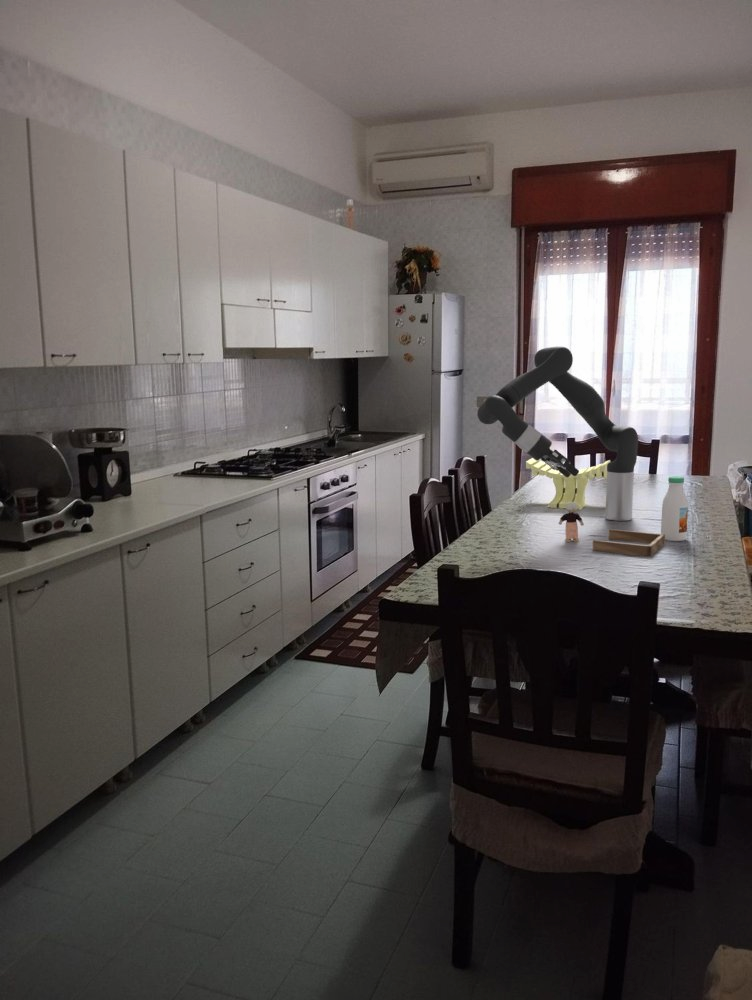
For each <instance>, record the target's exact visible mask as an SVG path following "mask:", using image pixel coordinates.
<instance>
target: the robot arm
mask: <svg viewBox="0 0 752 1000" xmlns="http://www.w3.org/2000/svg"><path fill="white" fill-rule="evenodd" d="M533 362H534V366H535V368H533V369H531V370H529V371H526V372H524V373H523V374H520V375H518V376H516V377H515V378H514V379H511V381H510V382H508V383H506V384H505V385H504V386H503V387H502V388H501V389H500V390H499V391H498V392H497V393H496V394H493V395H490V396H488V397H487V398H486V399H485V400H484V401H483V402H482V403H481V404H480V406H479V407H478V409H477V418H478V421H480V422H481V423H482V424H483V425H492V424H495V423H496V422H497V421H499V423H501V425H502V428H501V432H502V433H503V434H504V436H505V437H507V438H508V439H510V440H511V441H512V442H513V443H514V444H515V445H517V447H518V448H519V449H520V450H522V451H523V452H525V453H526V454H527V455H528V456H530V457H531V459H532V458H533V459H535V460H536V461H538V460H539V461H540V460H541V461H542V462H545V463H546V465H549V466H550V467H551V468H552V469H553V470H556V471H558V470H559V472H560V473H562V474H563V475H564V476H565V477H569V476H570V475H571V474H572V475H573V476H576V475H577V474H578V473H579V469H578V468H576V467H575V466H574V465H572V463H571V460H570V459H569V458H568V457H566V456H565V455H564V454H562V453H561V452H559V451H558V450H557V449H553V450H552V449H551V446H552V445H553V444H552V443H553V442H552V441H551V440H550V439H549V438H547V437H546V436H545V435H544V434H543V433H541V432H540V431H539V430H537V429H536V428H534V427H533V426H532V425H530V424H529V423H527V422H526V421H524V420H523V419H522V418H520V416H519V415H518V414H517V412H516V411H515V410H514V409H513V408H515V406H517V405H518V404H520V402H522V401H523V400H524V399H526V398H527V397H529V396H530V395H531V394H532V393H533V392H535V391H536V390H538V389H539V388H541V387H542V386H544V385H546V384H547V383H550V384H551V385H552V386H553V387H555V389H556V390H557V391H558V392H559V393H560V394H561V395H562V396H563V397H564V398H565V400H567V402H568V403H569V404H570V406H571V407H572V408H573V409H574V410H575V411H576V412H577V414H579V415H580V417H581V418H582V419H583V420H584V421H585V422H586V423H587V425H588V426H589V428H591V429H592V430H593V431H594V433H595V434H596V436H597V438H598V439H599V441H600V442H601V444H602V445H603V446H604V447H605V449H607V450H608V451H611V452H615V453H616V457H615V459H614V460H613V461H612V460H611V461H610V462H609V463H608V464H607V479H606V483H605V484H606V485H605V486H606V487H605V488H606V490H605V492H606V493H605V515H604V516H605V519H606V520H610V521H620V522H623V521H630V520H632V519H633V508H634V507H633V505H634V500H633V499H634V479H635V478H634V476H635V475H634V473H635V466H636V463H637V460H638V459H637V457H638V448H639V447H638V445H639V437H638V436H639V435H638V432H637V431H636V429H635V427H632V426H626V425H625V426H623V425H617V424H615V423H614V422H612V421H611V420H610V418H609V417H608V416H607V414H606V406H605V402H604V400H603V398H602V396H601V395H600V394H599V393H598V392H597V391H596V389H595V388H594V387H593V386H592V385H590V384H589V383H588V382H586V381H584V380H582V379H580V378H578V377H577V376H574V375H573V374H571V372H569V370H570V369H571V368H572V365H573V362H574V356H573V354H572V351H571V350H570V348H568V347H566V346H562V345H560V346H559V345H557V346H551V347H550V346H549V347H545V348H541V349H539V350H538V351H537V352H535V354H534V361H533Z"/></svg>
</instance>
